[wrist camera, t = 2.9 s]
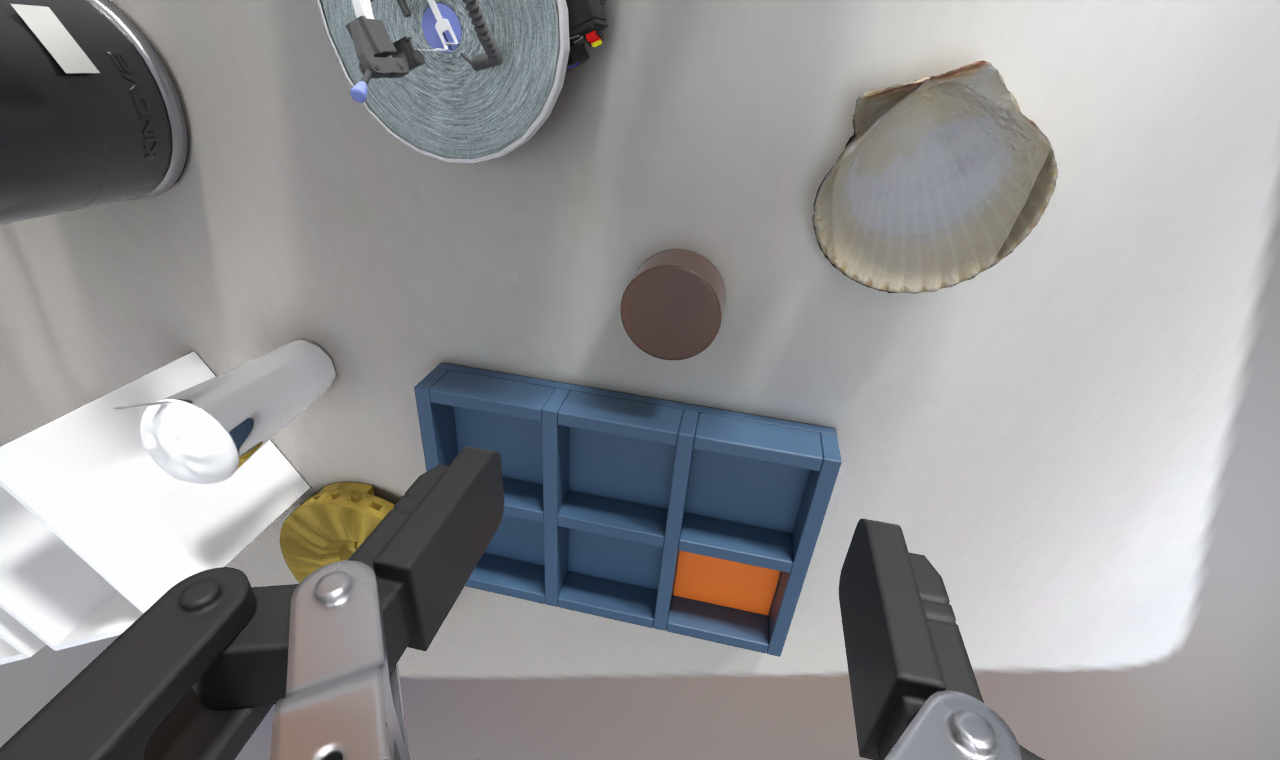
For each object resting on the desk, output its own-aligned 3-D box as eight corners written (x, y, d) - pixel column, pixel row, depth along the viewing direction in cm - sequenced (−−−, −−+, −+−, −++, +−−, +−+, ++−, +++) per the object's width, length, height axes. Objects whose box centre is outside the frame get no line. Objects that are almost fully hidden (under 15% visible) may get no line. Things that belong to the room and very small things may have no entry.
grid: (463, 549, 38) (442, 581, 36) (441, 362, 31) (413, 386, 29) (779, 617, 35) (780, 657, 33) (835, 428, 28) (841, 461, 26)
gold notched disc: (285, 548, 42) (263, 570, 40) (329, 451, 36) (305, 472, 34) (424, 630, 44) (408, 655, 42) (487, 550, 38) (472, 575, 36)
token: (629, 330, 28) (617, 352, 26) (635, 243, 26) (622, 259, 24) (718, 344, 27) (713, 368, 25) (732, 255, 25) (728, 273, 23)
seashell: (826, 269, 26) (1033, 268, 23) (815, 303, 24) (1040, 309, 21) (822, 73, 21) (1084, 35, 18) (807, 95, 19) (1099, 57, 16)
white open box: (114, 555, 48) (-48, 676, 38) (4, 454, 44) (-205, 561, 34) (310, 487, 38) (160, 624, 29) (194, 350, 34) (-23, 458, 25)
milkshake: (330, 317, 31) (163, 413, 23) (355, 401, 34) (214, 515, 25) (259, 312, 32) (72, 403, 23) (289, 394, 34) (130, 502, 26)
